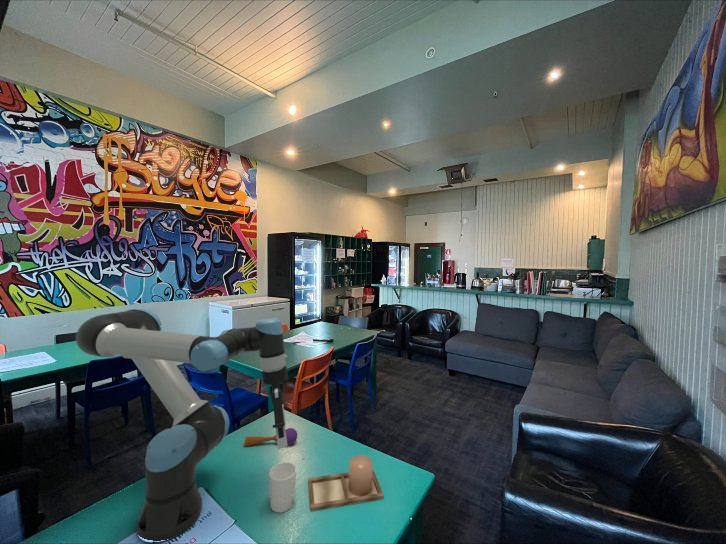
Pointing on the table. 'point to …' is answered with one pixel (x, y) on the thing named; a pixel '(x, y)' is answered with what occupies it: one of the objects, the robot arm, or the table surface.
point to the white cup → (282, 486)
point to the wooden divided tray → (338, 492)
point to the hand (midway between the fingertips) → (282, 435)
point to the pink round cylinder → (360, 475)
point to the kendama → (273, 438)
